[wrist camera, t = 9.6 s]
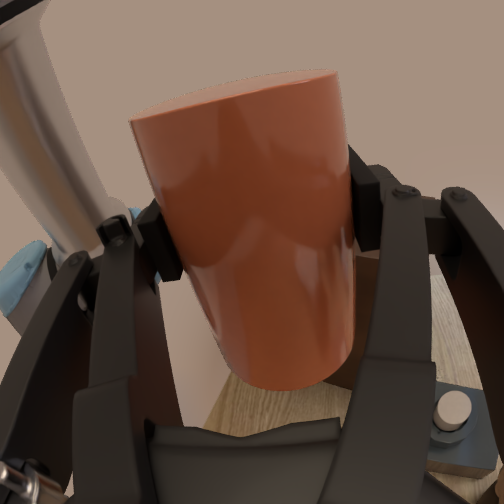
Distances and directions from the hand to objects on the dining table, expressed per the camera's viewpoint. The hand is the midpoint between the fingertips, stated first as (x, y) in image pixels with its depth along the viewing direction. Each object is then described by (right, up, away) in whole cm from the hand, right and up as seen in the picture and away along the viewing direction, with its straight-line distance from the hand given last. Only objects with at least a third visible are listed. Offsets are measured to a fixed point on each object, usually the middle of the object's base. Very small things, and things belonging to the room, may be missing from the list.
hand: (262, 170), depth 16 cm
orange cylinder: (+1, -8, 0) cm, 9 cm away
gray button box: (+23, -26, +11) cm, 37 cm away
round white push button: (+20, -21, +9) cm, 31 cm away
